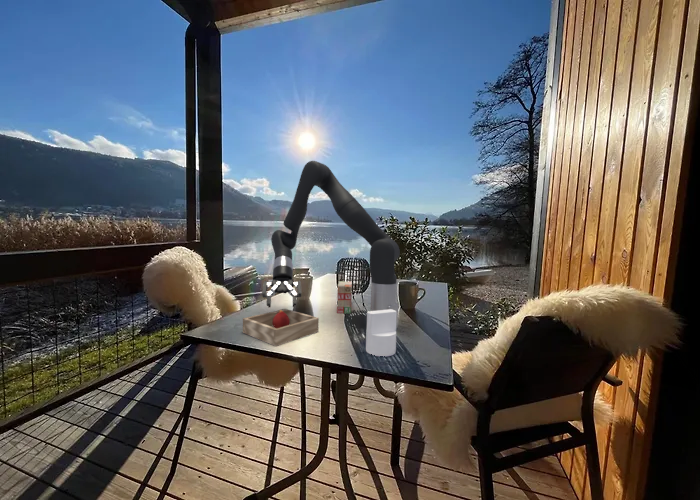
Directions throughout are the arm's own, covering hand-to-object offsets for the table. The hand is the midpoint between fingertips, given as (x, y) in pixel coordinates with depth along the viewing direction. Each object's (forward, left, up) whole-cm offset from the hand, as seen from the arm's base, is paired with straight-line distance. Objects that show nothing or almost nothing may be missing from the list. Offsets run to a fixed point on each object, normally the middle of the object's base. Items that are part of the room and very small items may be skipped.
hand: (281, 306), depth 109 cm
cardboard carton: (+4, -40, -9) cm, 41 cm away
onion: (-3, +2, -9) cm, 9 cm away
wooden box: (-3, +2, -8) cm, 9 cm away
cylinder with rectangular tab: (-38, -8, -9) cm, 39 cm away
